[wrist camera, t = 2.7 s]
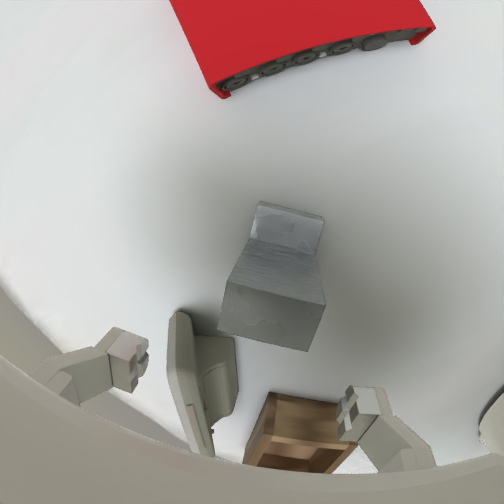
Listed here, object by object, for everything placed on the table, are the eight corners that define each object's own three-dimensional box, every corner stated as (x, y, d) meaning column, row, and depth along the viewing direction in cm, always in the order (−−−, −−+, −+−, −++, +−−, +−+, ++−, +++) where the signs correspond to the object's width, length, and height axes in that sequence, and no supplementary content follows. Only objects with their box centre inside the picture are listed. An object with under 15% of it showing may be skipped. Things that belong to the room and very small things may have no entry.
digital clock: (174, 300, 27) (130, 357, 18) (253, 319, 26) (234, 388, 18) (173, 394, 31) (146, 449, 23) (234, 410, 31) (218, 471, 22)
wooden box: (352, 405, 28) (358, 445, 22) (313, 458, 32) (312, 491, 27) (269, 391, 29) (263, 433, 23) (245, 447, 33) (238, 481, 27)
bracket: (321, 216, 22) (342, 259, 13) (295, 303, 25) (293, 382, 16) (260, 201, 23) (236, 232, 13) (240, 289, 25) (211, 362, 16)
